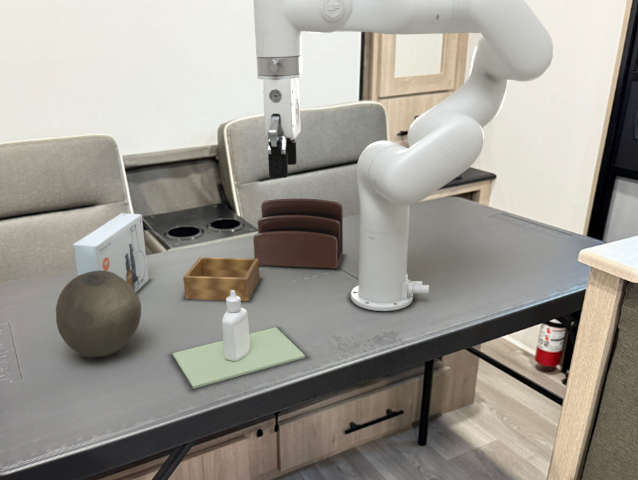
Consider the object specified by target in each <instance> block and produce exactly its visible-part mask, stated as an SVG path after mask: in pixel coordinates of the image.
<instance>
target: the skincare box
mask: <svg viewBox="0 0 638 480" xmlns="http://www.w3.org/2000/svg"><path fill="white" fill-rule="evenodd" d="M144 232H145V231H144V224H143V215H142V214H141V213H140V214H139V213H127V212H121V213H119V214H118V215H116V216H115V217H113V218H112V219H110V220H108V221H107V222H105V223H104V224H102V225H100V226H99V227H97V228H96V229H95V230H93V231H92V232H90V233H89V234H86V235H85V236H83V237H82V238H80V239H79V240H77V241H76V242H74V243H73V244H72V250H73V254H74V260H75V268H76V274H77V276H79V275H81V274H84V273H87V272H91V271H100V270H101V271H109V272H112V273H115V274H116V275H118V276H119V277H121V278H123V279H124V280H125V281H127V282H128V283H129V284H130V285H131V286H132V287H133V289H134V291H135V292H136V293H137V292H139V290H140V289H142V287H143V286H144V285H145V284H147V283H148V282H149V280H150V279H149V271H148V263H147V253H146V252H147V251H146V243H145V242H146V241H145V233H144Z"/></svg>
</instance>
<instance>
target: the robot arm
mask: <svg viewBox="0 0 638 480" xmlns="http://www.w3.org/2000/svg"><path fill="white" fill-rule="evenodd" d="M253 16H254V17H253V18H254V34H255V35H254V36H255V53H256V54H255V55H256V72H257V73H256V75H257V76H256V77H257V79H258V80H263V93H262V94H263V118H264V132H265V138H266V139H267V140H268V148H267V160H268V161H267V162H268V176H269V178H277V179H278V178H281V179H282V178H284V179H285V178H288V176H289V166H295V165H296V164H297V162H298V161H297V159H298V158H297V142H296V139H297V137H298V136H299V134H300V133H301V131H302V121H301V105H300V104H301V103H300V90H299V80H298V79H299V78H302V77H303V55H302V54H303V53H302V51H303V50H302V48H303V47H302V45H303V44H302V32H306V33H310V34H332V33H340V32H341V33H344V32H345V33H349V32H350V33H351V32H352V33H357V32H359V33H376V34H382V35H426V34H427V35H433V34H434V35H437V34H438V35H441V34H444V35H445V34H481V35H482V36H481V38H480V39H478V41H477V43H476V45H475V47H474V50H473V54H472V59H471V67H470V70H469V74H468V76H467V78H466V80H465V82H464V83H463V84H462V85H461V86H460V87H459V88H458V89H456V90H455V91H454V92H452V93H451V94H450V95H449V96H447V97H446V98H444V99H443V100H441V101H440V102H438V103H437V104H435V105H434V106H432V107H431V108H430V109H428V110H426V111H425V112H424V113H422V114H421V115H419V116H418V117H416V119H415V120H414V121H413V122H412V123H411V124H410V126H409V129H408V130H407V137H406V138H407V143H408V144H407V145H408V146H409V147H406V146H403V145H401V144H399V143H396V142H394V141H390V140H378V141H375V142H372V143H371V144H369V145H367V146H366V147H365V148H364V149H363V150H362V152H361V154H360V155H359V158H358V160H357V164H356V182H357V184H356V185H357V191H358V200H359V202H358V203H359V226H358V228H359V229H358V231H359V233H358V235H359V236H358V238H359V239H358V284H357V285H356V286H355V287H353V288H352V289H351V291H350V300H351V301H352V303H354V305H356V306H358V307H360V308H362V309H365V310H369V311H374V312H393V311H398V310H401V309H402V310H403V309H404V308H406V307H408V306H409V305H411V304H412V302H413V300H414V295H415V294H416V295H427V296H428V295H429V294H430V285H429V284H423V281H422V280H415V281H414V280H413V281H412V280H411V279H408V278H409V277H408V275H409V274H408V273H407V271H408V269H407V268H408V266H407V265H408V250H409V248H408V247H409V231H410V230H409V229H410V206H412V205H415V204H417V203H420V202H422V201H424V200H425V199H427V198H428V197H430V196H431V195H433V194H435V192H437V191H439V190H440V189H441V188H443V187H445V186H446V185H447V184H449V183H450V182H451V181H453V180H455V179H456V178H457V177H459V176H460V175H462V174H463V173H464V172H466V171H467V170H468V169H469V168H471V166H473V165H474V164H475V162H476V161H477V160H478V158H479V156H480V155H481V153H482V151H483V147H484V142H485V134H484V130H483V128H485V127H486V126H487V125H488V124H489V123H491V122H492V121H493V120H494V119H495V118H496V117H497V116H498V115H499V113H500V111H501V109H502V107H503V104H504V101H505V98H506V93H507V91H508V85H509V81H514V82H523V83H524V82H531V81H534V80H537V79H539V78H540V77H541V76H543V75H544V74H546V72H547V71H548V70H549V68H550V66H551V65H552V63H553V59H554V53H555V48H554V42H553V39H552V37H551V35H550V32H549V31H548V30H547V28H546V27H545V26H544V24H543V23H542V21H540V19H539V18H538V16H537V15H536V14H535V13H534V11H533V10H532V8H531V7H530V5H528V3H527V1H525V0H253Z"/></svg>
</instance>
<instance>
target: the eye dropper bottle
mask: <svg viewBox="0 0 638 480" xmlns="http://www.w3.org/2000/svg"><path fill="white" fill-rule="evenodd" d="M225 302H226V311H225V312H224V313H223V314H224V315H223V316H222V319H221V332H222V341H223V344H224V354H225V359H227V360H230V361H238V360H240V359H242V358H243V357H245V356H246V355H247V354H248V352H249V350H250V338H249V334H250V326H249V325H250V324H249V315H248V314H249V313H248V311H247V309H246V308H245V307H242V301H241V298H240V297H239V296H236V294H235V290H231V291H230V296H229V297H227V298H226V300H225Z"/></svg>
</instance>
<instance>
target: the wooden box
mask: <svg viewBox="0 0 638 480" xmlns="http://www.w3.org/2000/svg"><path fill="white" fill-rule="evenodd" d="M260 276H261V275H260V266H259V259H254V258H245V257H244V258H243V257H212V256H211V257H207V256H206V257H205V256H199V257H198V258H197V259H196V260H195V262H194V263H193V264H192V266H191V267H190V268H189V269H188V270H187V272H186V273H185V274H184V275H183V276H182V278H183V279H182V280H183V286H184V296H185V299H186V300H203V301H204V300H205V301H226V298H227V297H229V296H230V291H231V290H235V294H236V296H239V297H240V298H241V302H249V301H250V299H251V297H252V296H253V293H254V291H255V289H256V287H257V286H258V284H259V282H260V280H261V278H260Z"/></svg>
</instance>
